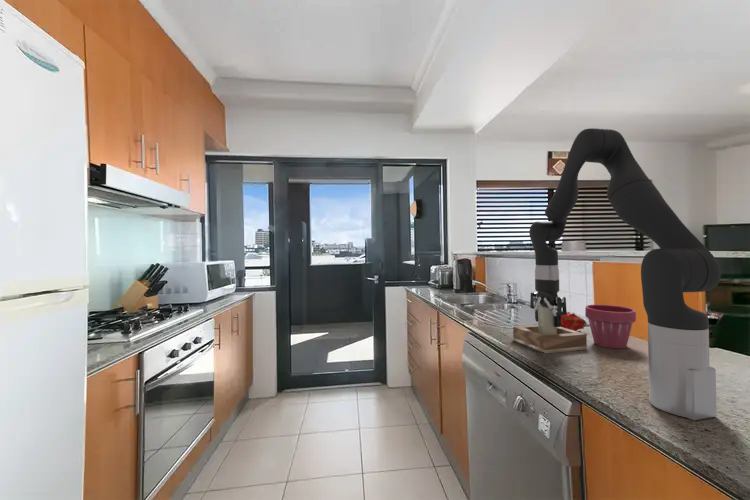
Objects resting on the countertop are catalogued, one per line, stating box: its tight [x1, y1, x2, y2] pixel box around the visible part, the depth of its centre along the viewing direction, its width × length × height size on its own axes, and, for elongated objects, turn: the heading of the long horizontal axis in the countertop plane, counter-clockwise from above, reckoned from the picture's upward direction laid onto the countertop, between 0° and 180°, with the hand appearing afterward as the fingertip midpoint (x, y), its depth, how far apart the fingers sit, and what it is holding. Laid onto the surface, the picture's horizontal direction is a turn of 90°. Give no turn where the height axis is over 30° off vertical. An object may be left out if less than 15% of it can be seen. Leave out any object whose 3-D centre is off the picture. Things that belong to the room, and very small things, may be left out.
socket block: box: [512, 324, 588, 354], centre depth 112 cm, size 16×16×5 cm
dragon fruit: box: [560, 311, 588, 333], centre depth 129 cm, size 8×8×12 cm
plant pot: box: [584, 304, 637, 349], centre depth 111 cm, size 14×14×13 cm
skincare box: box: [537, 306, 557, 335], centre depth 112 cm, size 6×4×12 cm
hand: (547, 324), depth 112 cm, fingers open, 8 cm apart
